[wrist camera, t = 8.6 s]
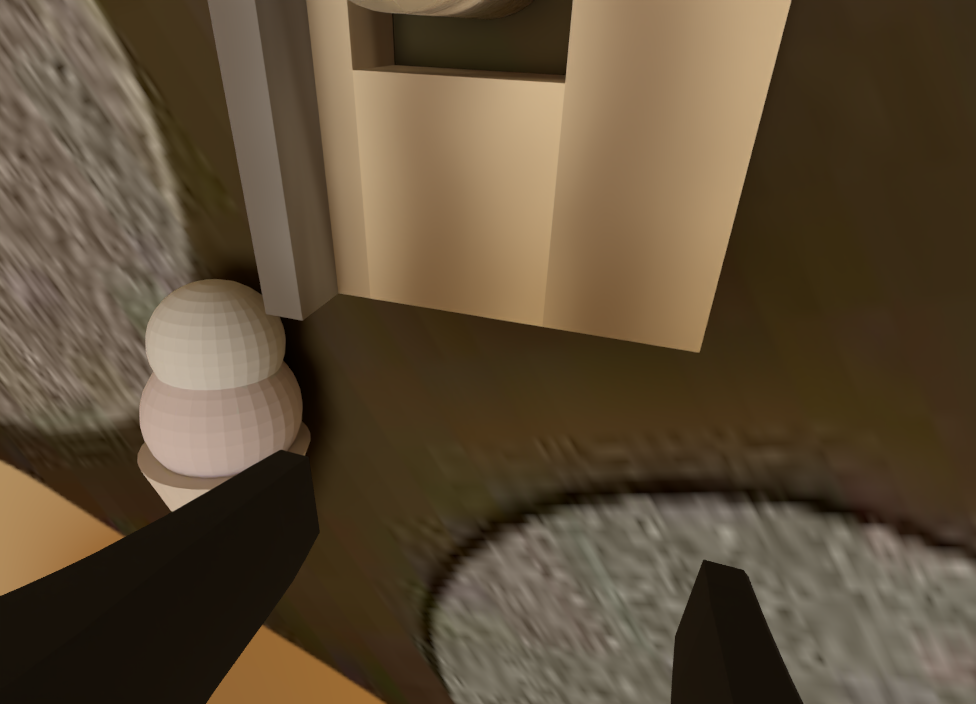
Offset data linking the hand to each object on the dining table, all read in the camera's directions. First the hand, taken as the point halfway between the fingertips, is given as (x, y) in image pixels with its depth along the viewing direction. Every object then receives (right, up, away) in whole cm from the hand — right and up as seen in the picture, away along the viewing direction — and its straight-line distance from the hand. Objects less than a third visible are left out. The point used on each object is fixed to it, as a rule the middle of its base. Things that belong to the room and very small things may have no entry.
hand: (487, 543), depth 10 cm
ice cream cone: (-9, +1, +15) cm, 18 cm away
